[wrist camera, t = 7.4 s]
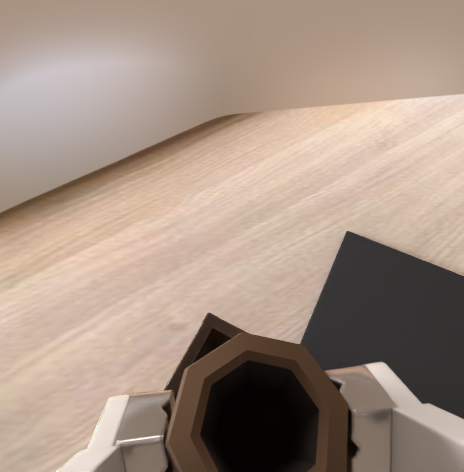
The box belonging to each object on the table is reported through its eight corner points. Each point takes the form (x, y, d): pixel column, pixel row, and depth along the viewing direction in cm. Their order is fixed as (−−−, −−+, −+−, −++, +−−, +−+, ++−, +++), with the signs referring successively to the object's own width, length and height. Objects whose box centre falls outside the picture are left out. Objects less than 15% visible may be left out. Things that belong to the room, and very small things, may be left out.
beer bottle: (278, 382, 29) (379, 214, 8) (305, 496, 25) (631, 704, 4) (186, 400, 28) (56, 265, 8) (198, 521, 24) (-14, 904, 4)
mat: (292, 362, 32) (293, 360, 31) (345, 233, 39) (347, 230, 39) (533, 486, 26) (538, 487, 26) (541, 310, 34) (546, 308, 33)
